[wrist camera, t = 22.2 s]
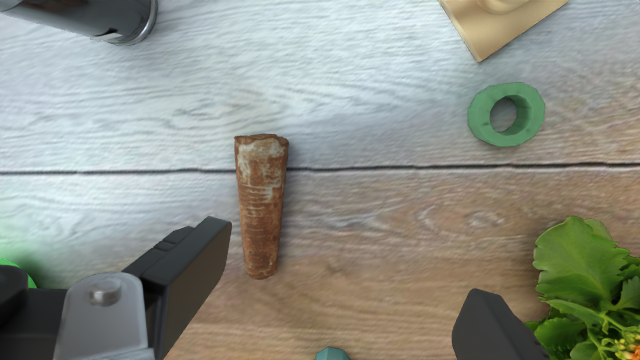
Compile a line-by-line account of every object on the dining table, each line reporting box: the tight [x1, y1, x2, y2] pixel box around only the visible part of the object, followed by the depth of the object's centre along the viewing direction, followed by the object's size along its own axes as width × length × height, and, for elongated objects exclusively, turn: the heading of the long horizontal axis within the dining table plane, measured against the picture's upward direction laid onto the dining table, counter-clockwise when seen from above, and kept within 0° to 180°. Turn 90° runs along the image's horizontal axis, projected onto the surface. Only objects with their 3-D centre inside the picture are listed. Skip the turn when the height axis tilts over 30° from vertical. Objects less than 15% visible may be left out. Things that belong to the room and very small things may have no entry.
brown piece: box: [234, 134, 289, 280], centre depth 39 cm, size 6×19×6 cm, turn 175°
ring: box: [468, 82, 545, 147], centre depth 34 cm, size 6×6×3 cm
